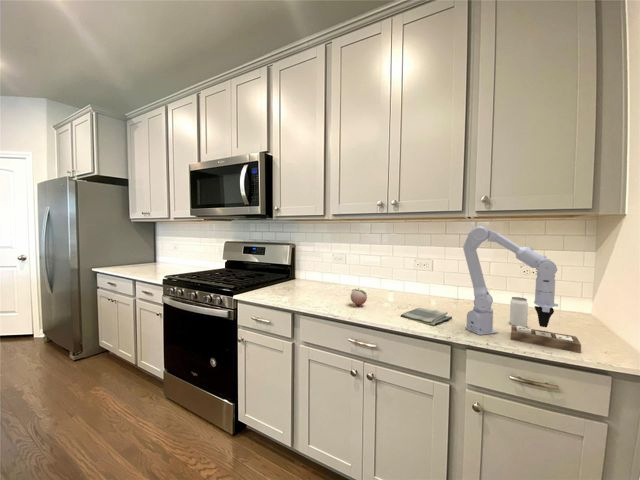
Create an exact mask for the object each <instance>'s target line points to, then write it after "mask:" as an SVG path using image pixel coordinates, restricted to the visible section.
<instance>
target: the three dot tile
mask: <svg viewBox="0 0 640 480" xmlns="http://www.w3.org/2000/svg"><path fill="white" fill-rule="evenodd" d="M531 329H532V328H531V327H528V326H526V327H523V326H517V328H516V332H522V333H528V334H531Z"/></svg>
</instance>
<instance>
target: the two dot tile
mask: <svg viewBox="0 0 640 480" xmlns="http://www.w3.org/2000/svg"><path fill="white" fill-rule="evenodd" d="M555 338H556V339H562V340H568V341H573V339H572V337H569V336H563V335H557V334H555Z"/></svg>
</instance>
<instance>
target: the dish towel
mask: <svg viewBox="0 0 640 480" xmlns="http://www.w3.org/2000/svg"><path fill="white" fill-rule="evenodd" d="M400 318H403V319H408V320H409V321H414V322H417V323H420V324H424V325H428V326H432V327H435V326H437V325H441V324H443V323H446V322H449V321H451V320H453V316H452V315H451V316H450V315H448V311H442V310H441V311H440V310H435V309H431V308H424V307H417V308H414V309H411V310H408V311H406V312H404V313H402V314H400Z"/></svg>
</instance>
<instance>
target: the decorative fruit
mask: <svg viewBox="0 0 640 480" xmlns="http://www.w3.org/2000/svg"><path fill="white" fill-rule="evenodd" d="M350 300H351V302H352V303H353V304H355V305H356V306H358V307H359V306H362V305H364V304H365V303H366V302H367V300H368V294H367V292H366V291H365V290H363V289H360V288H359V287H358V288H355V289H354V288H353V289H351V293H350Z"/></svg>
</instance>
